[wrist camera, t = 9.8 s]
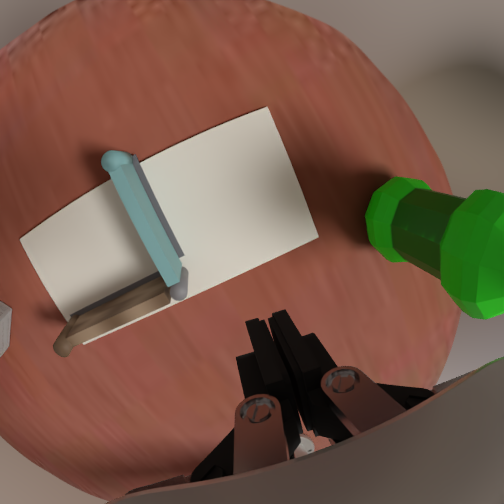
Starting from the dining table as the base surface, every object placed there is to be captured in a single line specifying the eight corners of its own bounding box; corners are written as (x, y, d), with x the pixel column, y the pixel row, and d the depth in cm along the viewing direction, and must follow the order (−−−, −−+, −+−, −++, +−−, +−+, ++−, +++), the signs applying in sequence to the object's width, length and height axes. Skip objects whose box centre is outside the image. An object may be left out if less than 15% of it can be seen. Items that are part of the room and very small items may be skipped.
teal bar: (192, 276, 31) (191, 296, 27) (176, 283, 31) (174, 304, 27) (128, 148, 26) (116, 146, 22) (113, 157, 26) (98, 157, 22)
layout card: (84, 343, 32) (83, 345, 32) (17, 231, 27) (15, 232, 26) (317, 236, 33) (319, 237, 33) (262, 98, 28) (263, 97, 27)
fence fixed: (77, 330, 31) (60, 359, 25) (68, 317, 30) (49, 344, 25) (175, 284, 31) (171, 311, 26) (166, 268, 31) (160, 292, 25)
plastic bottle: (426, 190, 34) (595, 241, 10) (398, 263, 36) (549, 363, 13) (369, 156, 31) (578, 186, 8) (338, 241, 34) (516, 365, 10)
